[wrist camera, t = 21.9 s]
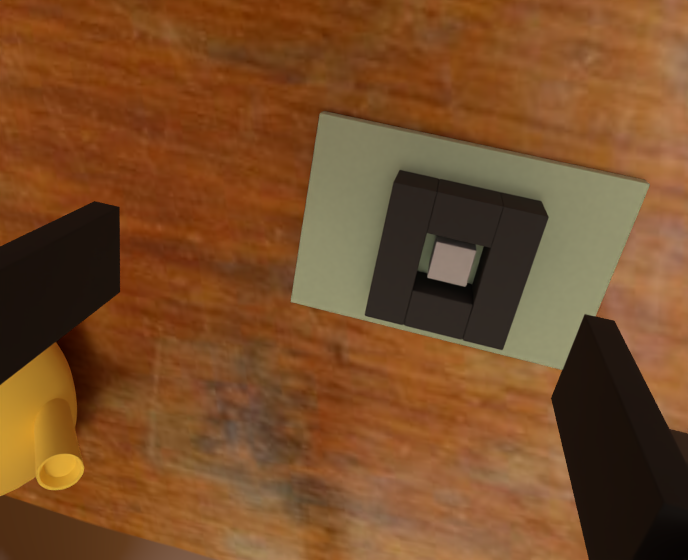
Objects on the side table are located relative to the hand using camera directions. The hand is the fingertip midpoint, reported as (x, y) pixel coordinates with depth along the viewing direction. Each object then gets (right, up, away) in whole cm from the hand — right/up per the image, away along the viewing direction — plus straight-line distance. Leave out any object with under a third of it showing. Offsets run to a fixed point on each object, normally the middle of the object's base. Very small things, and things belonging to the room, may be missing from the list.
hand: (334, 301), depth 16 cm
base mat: (+7, +3, +18) cm, 20 cm away
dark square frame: (+7, +2, +18) cm, 19 cm away
